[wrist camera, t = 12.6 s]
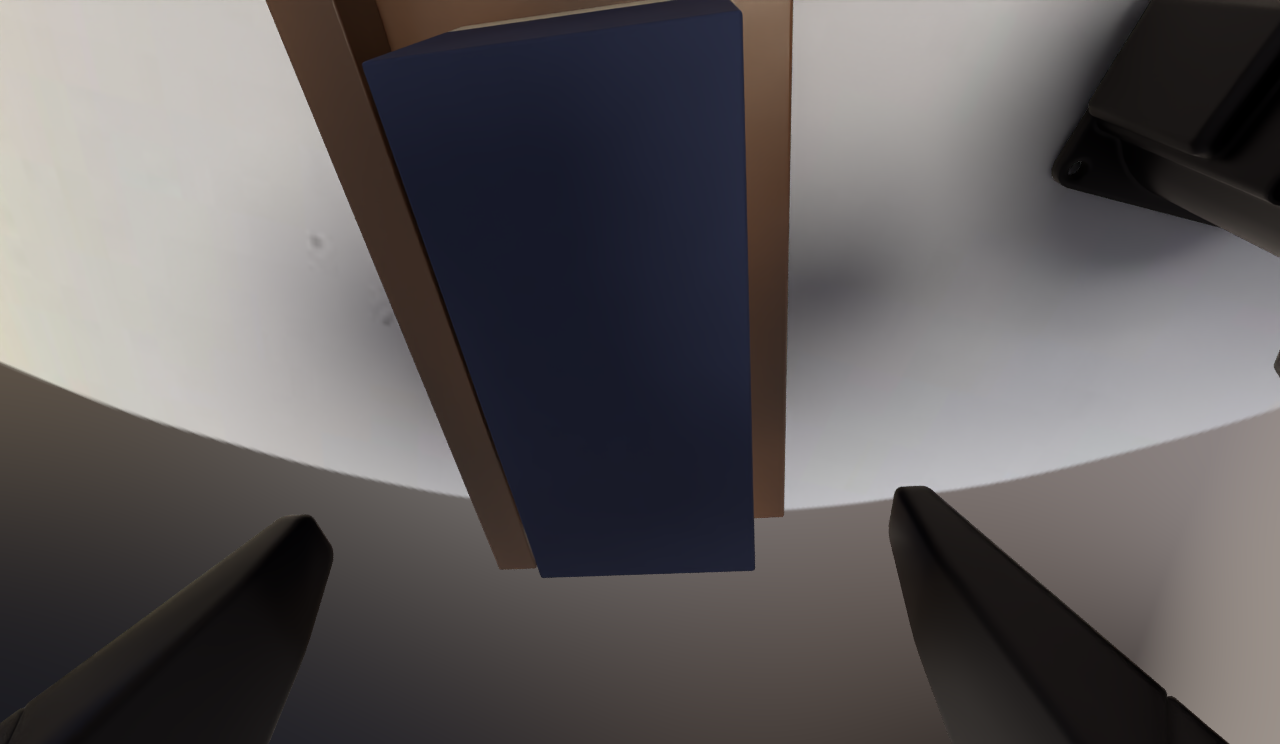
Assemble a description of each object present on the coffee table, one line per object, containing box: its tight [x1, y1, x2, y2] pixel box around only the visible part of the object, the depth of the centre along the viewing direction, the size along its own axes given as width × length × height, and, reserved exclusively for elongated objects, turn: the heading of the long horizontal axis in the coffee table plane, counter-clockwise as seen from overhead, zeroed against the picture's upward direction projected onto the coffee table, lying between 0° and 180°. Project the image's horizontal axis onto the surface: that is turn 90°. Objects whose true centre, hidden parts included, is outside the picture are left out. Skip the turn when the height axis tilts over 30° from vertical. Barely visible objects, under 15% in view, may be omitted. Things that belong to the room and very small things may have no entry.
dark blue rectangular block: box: [362, 0, 755, 578], centre depth 13 cm, size 11×5×4 cm, turn 7°
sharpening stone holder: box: [266, 0, 793, 570], centre depth 16 cm, size 9×18×6 cm, turn 7°
